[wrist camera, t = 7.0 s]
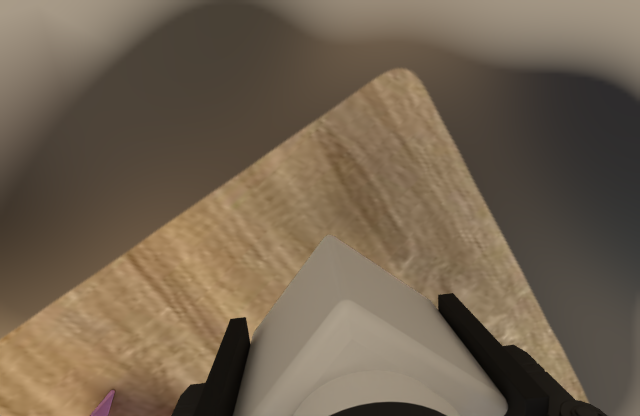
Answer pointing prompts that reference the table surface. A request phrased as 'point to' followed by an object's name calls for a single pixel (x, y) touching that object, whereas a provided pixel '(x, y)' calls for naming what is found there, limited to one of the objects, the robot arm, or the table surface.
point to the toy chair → (104, 405)
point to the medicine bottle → (359, 349)
